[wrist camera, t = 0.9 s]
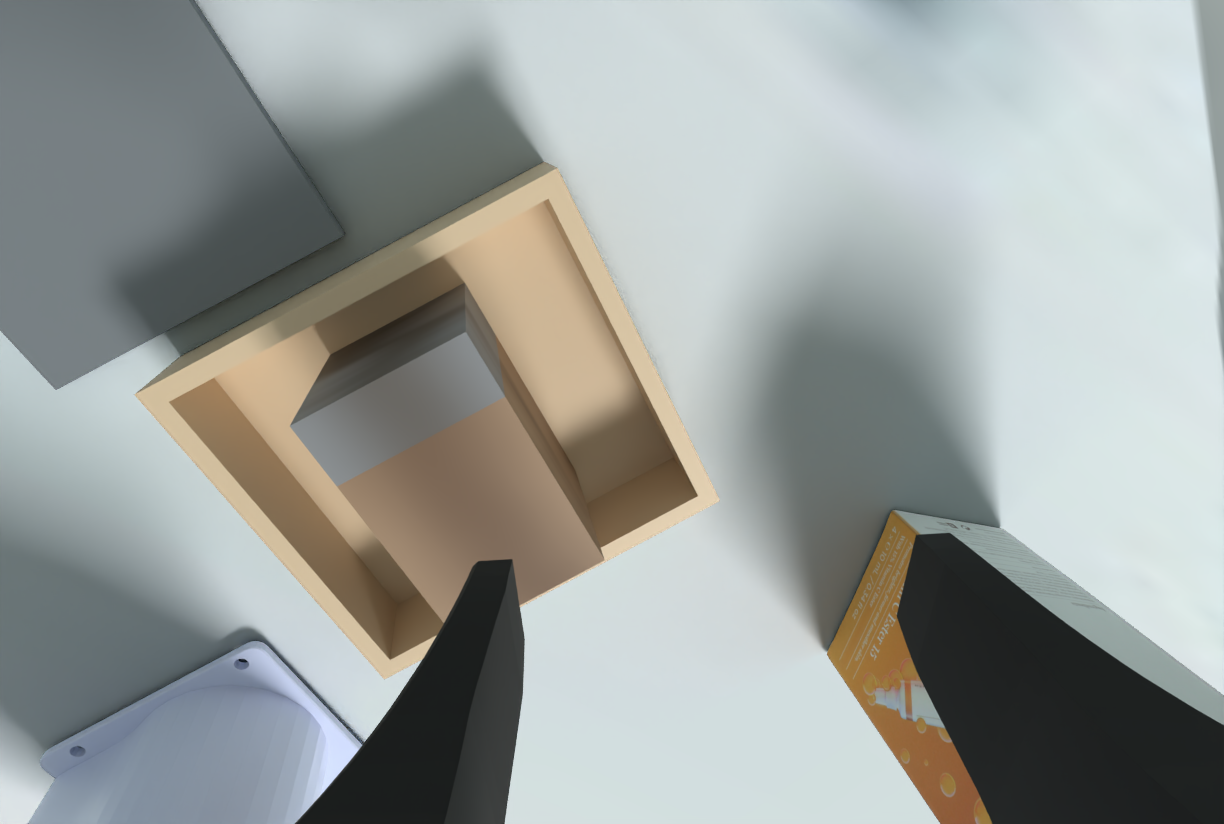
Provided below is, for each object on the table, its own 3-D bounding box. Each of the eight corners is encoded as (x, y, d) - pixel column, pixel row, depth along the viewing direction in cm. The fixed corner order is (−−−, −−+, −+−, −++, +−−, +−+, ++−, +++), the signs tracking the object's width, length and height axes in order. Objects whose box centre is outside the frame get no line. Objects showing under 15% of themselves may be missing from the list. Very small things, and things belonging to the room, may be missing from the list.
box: (457, 532, 26) (456, 639, 21) (330, 354, 23) (289, 425, 18) (575, 470, 26) (604, 560, 21) (464, 282, 23) (465, 331, 18)
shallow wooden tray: (393, 615, 28) (384, 679, 25) (180, 356, 23) (134, 394, 19) (690, 457, 28) (719, 500, 24) (544, 161, 23) (557, 168, 19)
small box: (888, 505, 31) (1159, 747, 19) (1004, 525, 32) (1319, 759, 20) (820, 655, 33) (1020, 952, 21) (931, 667, 35) (1173, 947, 23)
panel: (65, 383, 22) (56, 390, 22) (-229, 64, 18) (-250, 62, 18) (345, 233, 22) (342, 236, 22) (114, -122, 18) (104, -129, 18)
